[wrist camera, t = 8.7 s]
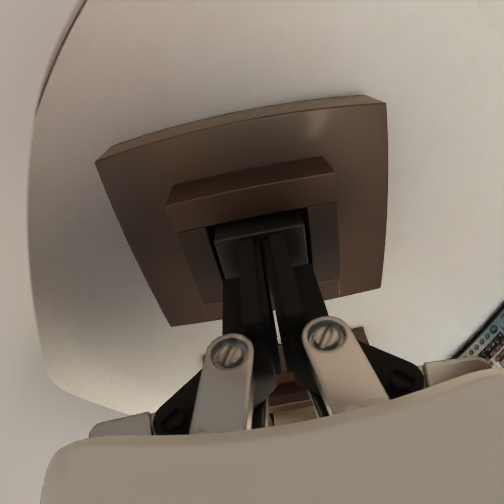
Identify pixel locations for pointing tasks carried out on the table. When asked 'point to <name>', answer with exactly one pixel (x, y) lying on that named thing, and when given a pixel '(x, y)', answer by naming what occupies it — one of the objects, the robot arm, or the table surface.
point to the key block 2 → (294, 386)
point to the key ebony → (260, 239)
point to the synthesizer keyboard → (488, 342)
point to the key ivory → (294, 416)
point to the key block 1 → (254, 195)
